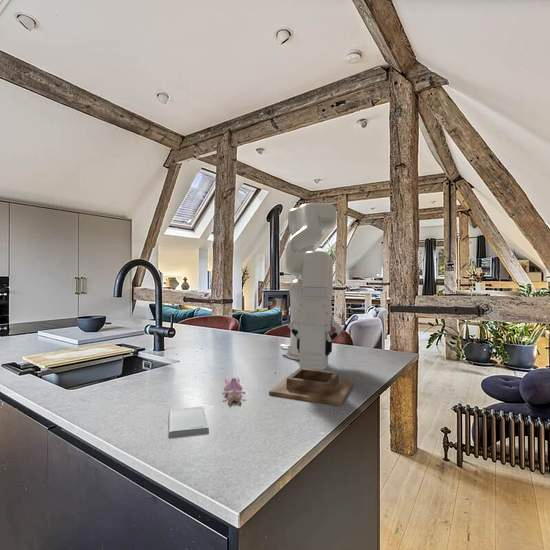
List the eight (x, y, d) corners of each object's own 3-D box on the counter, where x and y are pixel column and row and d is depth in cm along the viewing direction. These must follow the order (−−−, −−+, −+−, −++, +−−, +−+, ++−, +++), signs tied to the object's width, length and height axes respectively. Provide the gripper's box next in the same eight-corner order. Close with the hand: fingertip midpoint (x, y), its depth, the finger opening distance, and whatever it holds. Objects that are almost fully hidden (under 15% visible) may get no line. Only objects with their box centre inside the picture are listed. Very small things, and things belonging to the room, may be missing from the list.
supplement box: (328, 364, 107) (329, 322, 107) (323, 370, 100) (324, 325, 100) (304, 362, 110) (305, 321, 109) (298, 368, 102) (299, 324, 102)
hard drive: (209, 427, 76) (203, 405, 87) (168, 431, 73) (168, 408, 85) (209, 435, 76) (203, 412, 87) (168, 439, 73) (168, 415, 85)
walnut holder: (268, 394, 99) (269, 380, 99) (292, 375, 118) (292, 363, 118) (340, 405, 92) (340, 390, 92) (353, 383, 111) (353, 371, 111)
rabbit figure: (246, 409, 92) (242, 382, 107) (247, 388, 91) (242, 363, 106) (222, 410, 91) (220, 383, 105) (223, 389, 90) (221, 364, 104)
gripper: (283, 292, 104) (281, 352, 104) (342, 295, 98) (341, 359, 98) (291, 291, 111) (290, 348, 111) (347, 293, 105) (346, 353, 105)
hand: (314, 352), depth 105 cm, fingers closed on supplement box, 7 cm apart
